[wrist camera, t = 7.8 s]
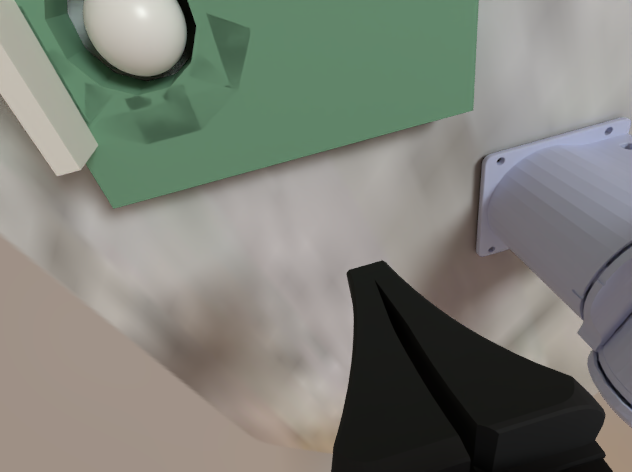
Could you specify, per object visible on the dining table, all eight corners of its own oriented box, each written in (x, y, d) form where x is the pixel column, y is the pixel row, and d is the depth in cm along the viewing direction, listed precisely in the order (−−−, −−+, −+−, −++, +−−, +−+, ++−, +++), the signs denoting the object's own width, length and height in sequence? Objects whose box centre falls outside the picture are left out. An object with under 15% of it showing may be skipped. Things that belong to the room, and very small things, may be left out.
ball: (130, -39, 15) (191, -39, 14) (159, 55, 18) (215, 65, 16) (42, -24, 13) (103, -21, 12) (89, 81, 16) (145, 96, 14)
